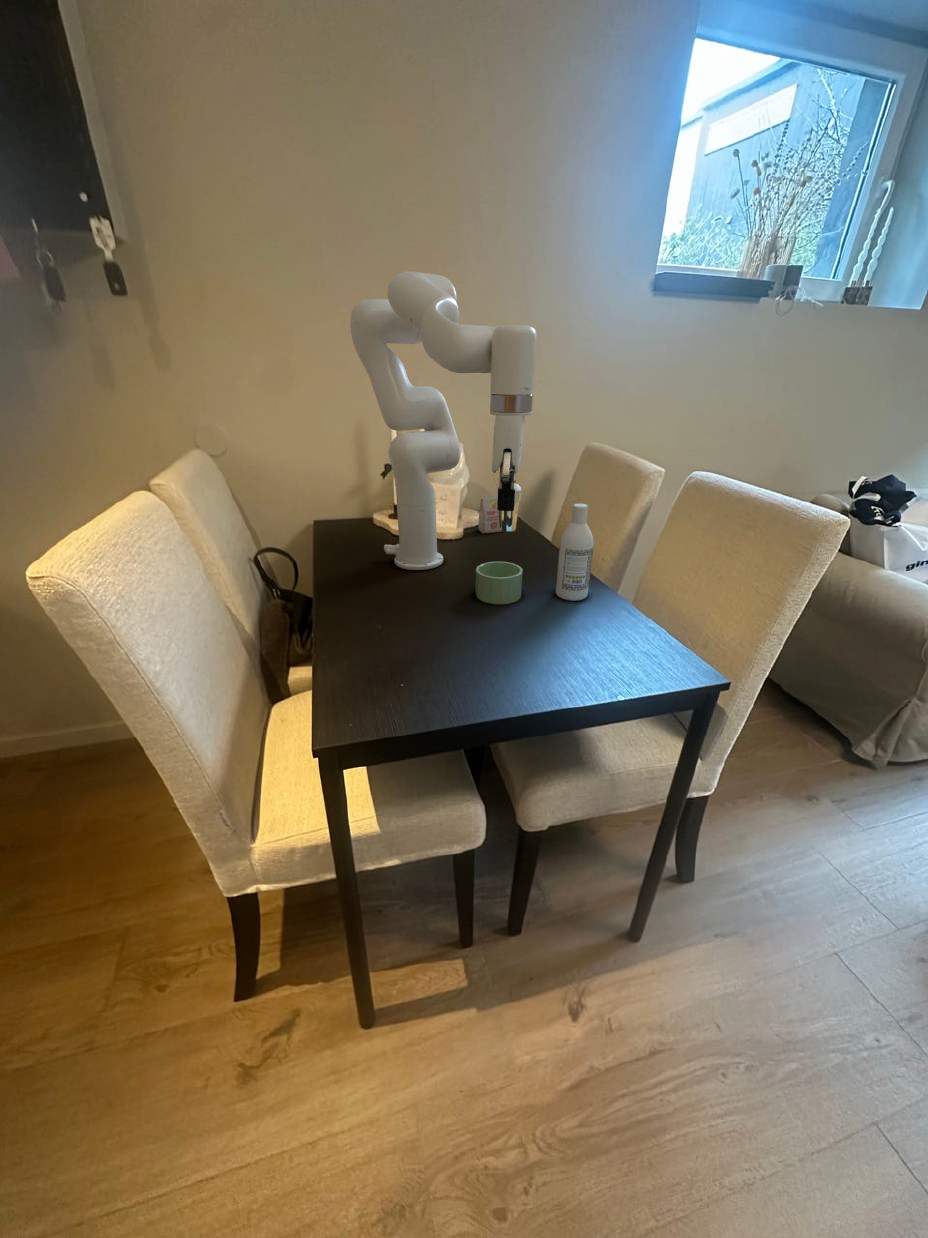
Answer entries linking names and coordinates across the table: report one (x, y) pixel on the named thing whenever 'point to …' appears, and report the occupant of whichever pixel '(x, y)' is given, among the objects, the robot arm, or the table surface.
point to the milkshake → (510, 513)
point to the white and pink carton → (489, 516)
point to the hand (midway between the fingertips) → (506, 505)
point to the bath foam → (575, 557)
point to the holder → (498, 582)
